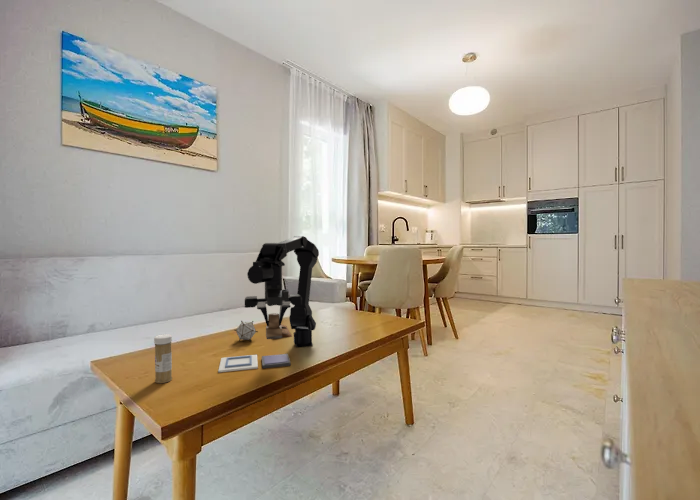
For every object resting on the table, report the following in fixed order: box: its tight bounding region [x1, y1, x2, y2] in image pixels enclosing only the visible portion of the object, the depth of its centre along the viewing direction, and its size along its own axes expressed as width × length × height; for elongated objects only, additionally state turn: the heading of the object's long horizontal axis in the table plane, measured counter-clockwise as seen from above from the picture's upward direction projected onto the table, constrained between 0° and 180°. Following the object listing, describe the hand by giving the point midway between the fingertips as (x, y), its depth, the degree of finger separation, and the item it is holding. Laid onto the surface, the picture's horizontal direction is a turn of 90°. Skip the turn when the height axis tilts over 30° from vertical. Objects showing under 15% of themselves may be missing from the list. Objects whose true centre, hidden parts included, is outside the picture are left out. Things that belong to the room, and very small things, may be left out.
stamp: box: [265, 312, 283, 340], centre depth 116 cm, size 5×5×8 cm
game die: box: [233, 320, 259, 342], centre depth 141 cm, size 9×8×10 cm
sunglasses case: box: [281, 323, 293, 339], centre depth 153 cm, size 18×7×7 cm
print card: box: [217, 354, 259, 373], centre depth 115 cm, size 12×12×1 cm
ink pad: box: [261, 353, 292, 369], centre depth 116 cm, size 9×9×1 cm
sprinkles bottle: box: [153, 333, 173, 384], centre depth 101 cm, size 5×5×13 cm
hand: (273, 325), depth 116 cm, fingers closed on stamp, 4 cm apart
